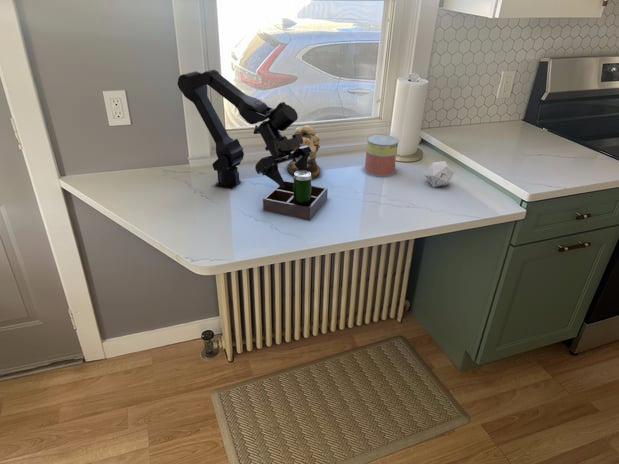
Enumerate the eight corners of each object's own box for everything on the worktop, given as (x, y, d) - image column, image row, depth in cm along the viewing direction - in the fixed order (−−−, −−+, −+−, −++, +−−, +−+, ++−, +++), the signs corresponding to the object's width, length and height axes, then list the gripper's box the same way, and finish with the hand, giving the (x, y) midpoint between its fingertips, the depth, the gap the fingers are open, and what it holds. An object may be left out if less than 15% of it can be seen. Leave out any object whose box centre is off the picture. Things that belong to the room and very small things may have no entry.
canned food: (396, 176, 170) (400, 145, 163) (365, 176, 170) (368, 144, 163) (392, 165, 179) (396, 134, 173) (363, 164, 179) (365, 134, 173)
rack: (263, 210, 144) (262, 198, 142) (283, 191, 157) (283, 179, 155) (309, 220, 140) (310, 208, 138) (327, 199, 152) (327, 188, 150)
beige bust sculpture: (281, 163, 178) (281, 119, 170) (311, 160, 182) (312, 117, 173) (294, 181, 164) (295, 134, 155) (326, 178, 167) (328, 132, 158)
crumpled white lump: (419, 186, 165) (432, 171, 156) (424, 166, 169) (437, 151, 160) (440, 195, 165) (454, 182, 156) (445, 176, 169) (460, 161, 160)
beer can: (299, 215, 141) (299, 178, 135) (290, 208, 144) (290, 172, 138) (314, 211, 143) (315, 175, 137) (304, 204, 147) (305, 168, 141)
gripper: (259, 131, 131) (285, 180, 129) (308, 119, 142) (332, 164, 140) (244, 150, 140) (268, 196, 138) (291, 137, 151) (313, 180, 149)
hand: (296, 183), depth 141 cm, fingers open, 9 cm apart
